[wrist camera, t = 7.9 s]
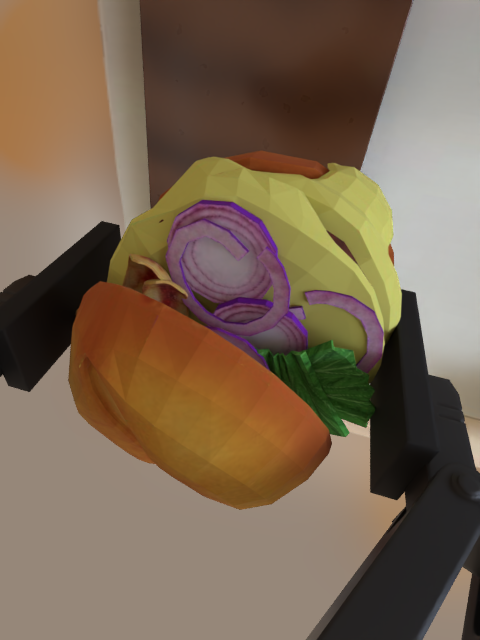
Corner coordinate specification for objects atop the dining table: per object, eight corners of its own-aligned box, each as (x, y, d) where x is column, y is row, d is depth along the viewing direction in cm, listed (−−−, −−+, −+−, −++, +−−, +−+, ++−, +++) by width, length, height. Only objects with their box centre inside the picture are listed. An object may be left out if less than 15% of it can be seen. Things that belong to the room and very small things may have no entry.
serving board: (149, -82, 21) (134, -87, 20) (425, -47, 19) (429, -51, 18) (162, 274, 37) (154, 284, 36) (314, 311, 35) (312, 323, 34)
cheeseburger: (481, 277, 13) (461, 608, 8) (284, 351, 22) (206, 536, 16) (273, 37, 10) (-1, 286, 5) (139, 229, 19) (-18, 401, 13)
